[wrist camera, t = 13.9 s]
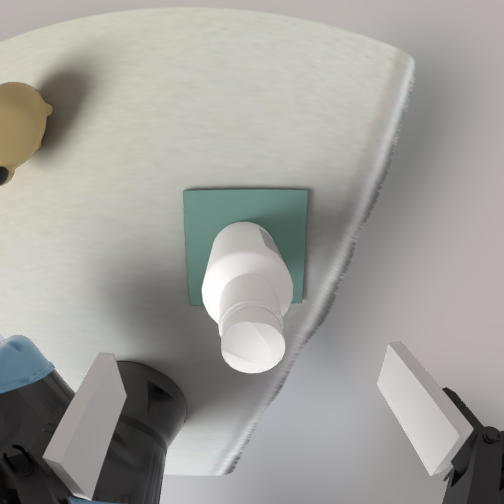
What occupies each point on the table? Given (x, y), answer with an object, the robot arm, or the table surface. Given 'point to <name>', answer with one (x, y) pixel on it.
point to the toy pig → (20, 125)
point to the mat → (244, 210)
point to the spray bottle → (248, 296)
